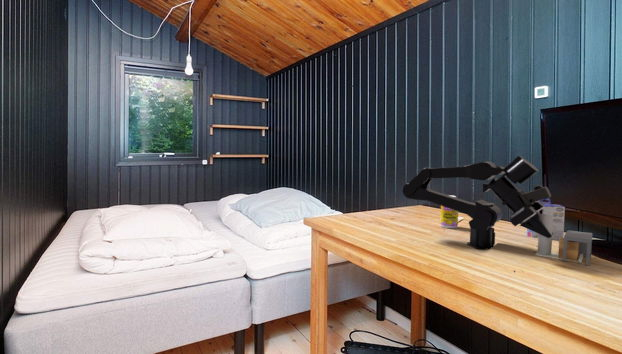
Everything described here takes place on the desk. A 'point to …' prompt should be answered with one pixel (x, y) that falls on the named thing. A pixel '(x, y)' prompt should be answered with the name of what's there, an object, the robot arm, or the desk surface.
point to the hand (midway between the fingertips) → (551, 236)
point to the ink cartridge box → (558, 220)
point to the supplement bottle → (449, 217)
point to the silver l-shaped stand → (549, 240)
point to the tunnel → (583, 240)
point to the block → (569, 249)
